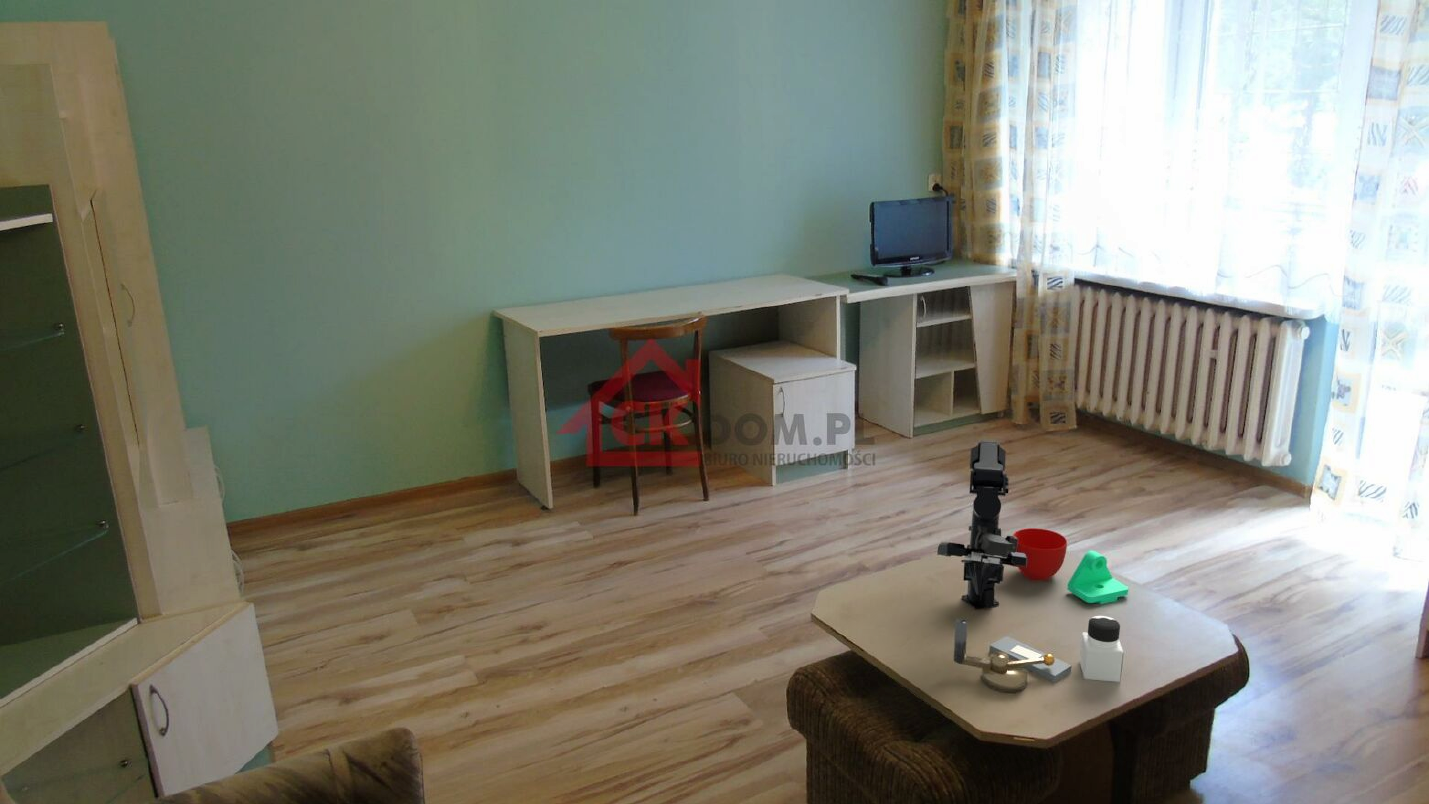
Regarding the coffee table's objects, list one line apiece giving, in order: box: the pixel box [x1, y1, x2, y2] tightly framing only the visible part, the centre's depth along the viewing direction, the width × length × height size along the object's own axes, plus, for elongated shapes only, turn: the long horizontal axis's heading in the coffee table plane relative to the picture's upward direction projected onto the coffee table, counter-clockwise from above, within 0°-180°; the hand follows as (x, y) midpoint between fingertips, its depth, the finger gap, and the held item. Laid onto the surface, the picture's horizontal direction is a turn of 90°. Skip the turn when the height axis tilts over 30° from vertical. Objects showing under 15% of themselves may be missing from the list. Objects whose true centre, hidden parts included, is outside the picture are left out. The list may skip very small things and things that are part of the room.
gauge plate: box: [989, 635, 1072, 683], centre depth 212 cm, size 16×6×2 cm, turn 39°
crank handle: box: [953, 618, 1055, 693], centre depth 205 cm, size 20×12×12 cm, turn 68°
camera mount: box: [1066, 550, 1129, 605], centre depth 238 cm, size 12×8×10 cm, turn 109°
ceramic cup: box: [1009, 527, 1068, 582], centre depth 248 cm, size 13×17×10 cm
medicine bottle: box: [1079, 615, 1125, 683], centre depth 206 cm, size 7×7×12 cm
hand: (978, 594), depth 216 cm, fingers closed
